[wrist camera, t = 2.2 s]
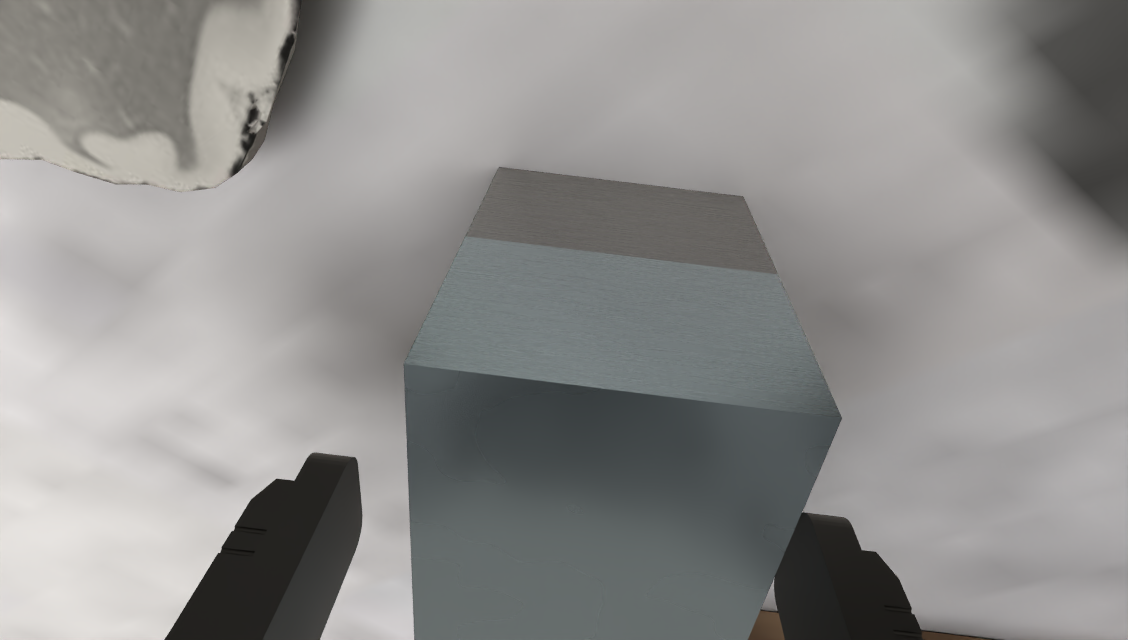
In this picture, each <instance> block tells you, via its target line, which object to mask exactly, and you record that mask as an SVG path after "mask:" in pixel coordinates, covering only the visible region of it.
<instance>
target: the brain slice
mask: <svg viewBox="0 0 1128 640" xmlns="http://www.w3.org/2000/svg"><path fill="white" fill-rule="evenodd" d="M300 7H301V0H0V159H28V160H44V161H47V162H50V163H52V164H55V165H58V166H60V167H63V168H66V169H68V170H71V171H74V172H77V173H80V174H84V175H87V176H90V177H94V178H97V179H100V180H103V181H107V182H110V183H113V184H147V185H152V186H156V187H160V188H165V189H169V190H173V191H178V192H186V191H194V190H202V189H210V188H216V187H217V186H219V185H220V184H222V183H223V182H225V181H226V180H228V179H229V178H230V177H232V176H233V175H235V174H236V173H238V172H239V171H240V170H241V169H242V168H243V167H244V166H245V165H246V164H248V163H249V162H250V161H251V160H252V159H253V157H254V156H255V154H256V153H257V151H258V150H259V148H260V146H261V145H262V143H263V142H264V140H265V137H266V133H267V129H268V125H269V121H270V117H271V113H272V109H273V105H274V101H275V99H276V96H277V94H278V91H279V89H280V86H281V84H282V81H283V79H284V76H285V74H286V71H287V69H288V66H289V63H290V61H291V58H292V56H293V53H294V51H295V44H296V37H297V29H298V22H299V15H300Z"/></svg>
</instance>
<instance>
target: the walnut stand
mask: <svg viewBox="0 0 1128 640" xmlns="http://www.w3.org/2000/svg"><path fill="white" fill-rule="evenodd" d="M922 638H923V639H925V640H990V639H982V638H974V637H966V636H958V635H950V634H942V633H934V632H926V631H922ZM748 640H785V638H784V634H783V630H782V626H781V621H780V617H779V613H775V612H767V611H760V612H759V614H758V617H757V619H756V621H755V624H754V626H753V629H752V631H751V633H750V636H749V638H748Z"/></svg>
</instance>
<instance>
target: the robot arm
mask: <svg viewBox="0 0 1128 640" xmlns="http://www.w3.org/2000/svg"><path fill="white" fill-rule="evenodd" d="M361 527H362V504H361V493H360V483H359V472H358V463H357V460H356V458H355V457H348V456H339V455H331V454H323V453H312V454H311V455H310V456H309V457H308V458H307V460H306V461H305V463H304V465H303V467H302V468H301V470H300V472H299V474H298V476H297V477H296V479H295V481H291V480H283V479H276V480H274V481H273V482H272V483H271V484H270V485H268V486H267V487H266V488H265V489H264V490H262V491H261V492H260V493H259V494H257V495H256V496H255V497H254V498H253V499H251V501H250V502H249V504H248V505H247V507H246V509H245V510H244V512H243V514H242V515H241V517H240V518H239V520H238V522H237V523H236V525H235V529H234V531H231V533H230V535H229V536H228V538H227V540H226V541H225V543H224V544H223V546H222V550H221V552H220V553H218V554H217V556H216V557H215V559H214V561H213V562H212V564H211V566H210V567H209V569H208V570H207V572H206V574H205V575H204V577H203V579H202V580H201V582H200V583H199V585H198V587H197V588H196V590H195V592H194V593H193V595H192V596H191V598H190V600H189V601H188V603H187V605H186V606H185V608H184V609H183V611H182V613H181V614H180V616H179V618H178V619H177V621H176V622H175V624H174V626H173V627H172V629H171V631H170V632H169V634H168V635H167V637H166V638H165V639H164V640H320V638H321V635H322V633H323V630H324V628H325V625H326V623H327V620H328V618H329V615H330V613H331V610H332V608H333V605H334V603H335V600H336V598H337V595H338V593H339V590H340V588H341V585H342V583H343V580H344V578H345V575H346V573H347V571H348V568H349V566H350V563H351V561H352V558H353V556H354V553H355V551H356V548H357V545H358V541H359V537H360V533H361ZM774 592H775V600H776V605H777V609H778V613H779V617H780V621H781V626H782V630H783V634H784V638H785V640H925V639H923V638H922V631H921V629H920V627H919V624H918V622H917V620H916V617H915V615H914V614H912V613H911V609H912V608H911V606H910V603H909V601H908V599H907V597H906V594H905V592H904V590H903V587H902V585H901V583H900V580H899V579H898V577H897V576H896V575H895V574H894V573H893V571H892V570H891V569H890V568H889V567H888V566H887V564H886V563H885V562H884V561H883V560H882V558H881V557H880V556H879V555H878V554H877V553H876V552H872V551H863V550H861V547H860V545H859V542H858V540H857V537H856V535H855V532H854V529H853V527H852V525H851V523H850V522H849V520H848V519H846V518H844V517H837V516H828V515H820V514H812V513H801V516H800V518H799V520H798V523H797V525H796V527H795V530H794V532H793V534H792V537H791V539H790V542H789V544H788V546H787V549H786V551H785V553H784V556H783V558H782V560H781V563H780V565H779V567H778V570H777V572H776V574H775V579H774Z"/></svg>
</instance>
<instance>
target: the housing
mask: <svg viewBox="0 0 1128 640" xmlns="http://www.w3.org/2000/svg"><path fill="white" fill-rule="evenodd" d="M404 382H405V407H406V433H407V459H408V485H409V511H410V537H411V563H412V589H413V615H414V640H748V638H749V636H750V633H751V631H752V629H753V626H754V624H755V621H756V619H757V617H758V614H759V612H760V610H761V607H762V605H763V603H764V600H765V598H766V596H767V593H768V591H769V589H770V586H771V584H772V581H773V579H774V577H775V574H776V572H777V570H778V567H779V565H780V563H781V560H782V558H783V556H784V553H785V551H786V549H787V546H788V544H789V542H790V539H791V537H792V534H793V532H794V530H795V527H796V525H797V523H798V520H799V518H800V516H801V513H802V511H803V509H804V506H805V504H806V502H807V499H808V497H809V494H810V492H811V490H812V487H813V485H814V483H815V480H816V478H817V476H818V473H819V471H820V469H821V466H822V464H823V462H824V459H825V457H826V454H827V452H828V450H829V447H830V445H831V443H832V440H833V438H834V436H835V433H836V431H837V429H838V426H839V424H840V422H841V419H842V417H841V415H840V413H839V411H838V408H837V406H836V404H835V402H834V399H833V397H832V395H831V393H830V390H829V388H828V386H827V384H826V381H825V379H824V377H823V375H822V372H821V370H820V368H819V366H818V363H817V361H816V359H815V357H814V354H813V352H812V350H811V348H810V345H809V343H808V341H807V339H806V336H805V334H804V332H803V330H802V327H801V325H800V323H799V321H798V318H797V316H796V314H795V312H794V309H793V307H792V305H791V303H790V300H789V298H788V296H787V294H786V292H785V289H784V287H783V285H782V283H781V280H780V278H779V276H778V274H777V271H776V269H775V267H774V265H773V262H772V260H771V258H770V256H769V253H768V251H767V249H766V247H765V244H764V242H763V240H762V238H761V235H760V233H759V231H758V229H757V226H756V224H755V222H754V220H753V217H752V215H751V213H750V211H749V208H748V206H747V204H746V202H745V199H744V197H743V196H735V195H726V194H718V193H710V192H702V191H693V190H685V189H677V188H668V187H660V186H652V185H644V184H635V183H627V182H619V181H610V180H602V179H594V178H586V177H577V176H569V175H561V174H552V173H544V172H536V171H528V170H519V169H511V168H503V167H499V168H498V170H497V173H496V175H495V177H494V179H493V181H492V183H491V185H490V187H489V189H488V191H487V193H486V195H485V197H484V199H483V201H482V203H481V206H480V208H479V210H478V212H477V214H476V216H475V218H474V220H473V222H472V224H471V226H470V228H469V230H468V232H467V234H466V237H465V239H464V241H463V243H462V245H461V247H460V249H459V251H458V253H457V255H456V257H455V259H454V261H453V263H452V265H451V267H450V270H449V272H448V274H447V276H446V278H445V280H444V282H443V284H442V286H441V288H440V290H439V292H438V294H437V296H436V298H435V301H434V303H433V305H432V307H431V309H430V311H429V313H428V315H427V317H426V319H425V321H424V323H423V325H422V327H421V329H420V331H419V334H418V336H417V338H416V340H415V342H414V344H413V346H412V348H411V350H410V352H409V354H408V356H407V358H406V360H405V362H404Z"/></svg>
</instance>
